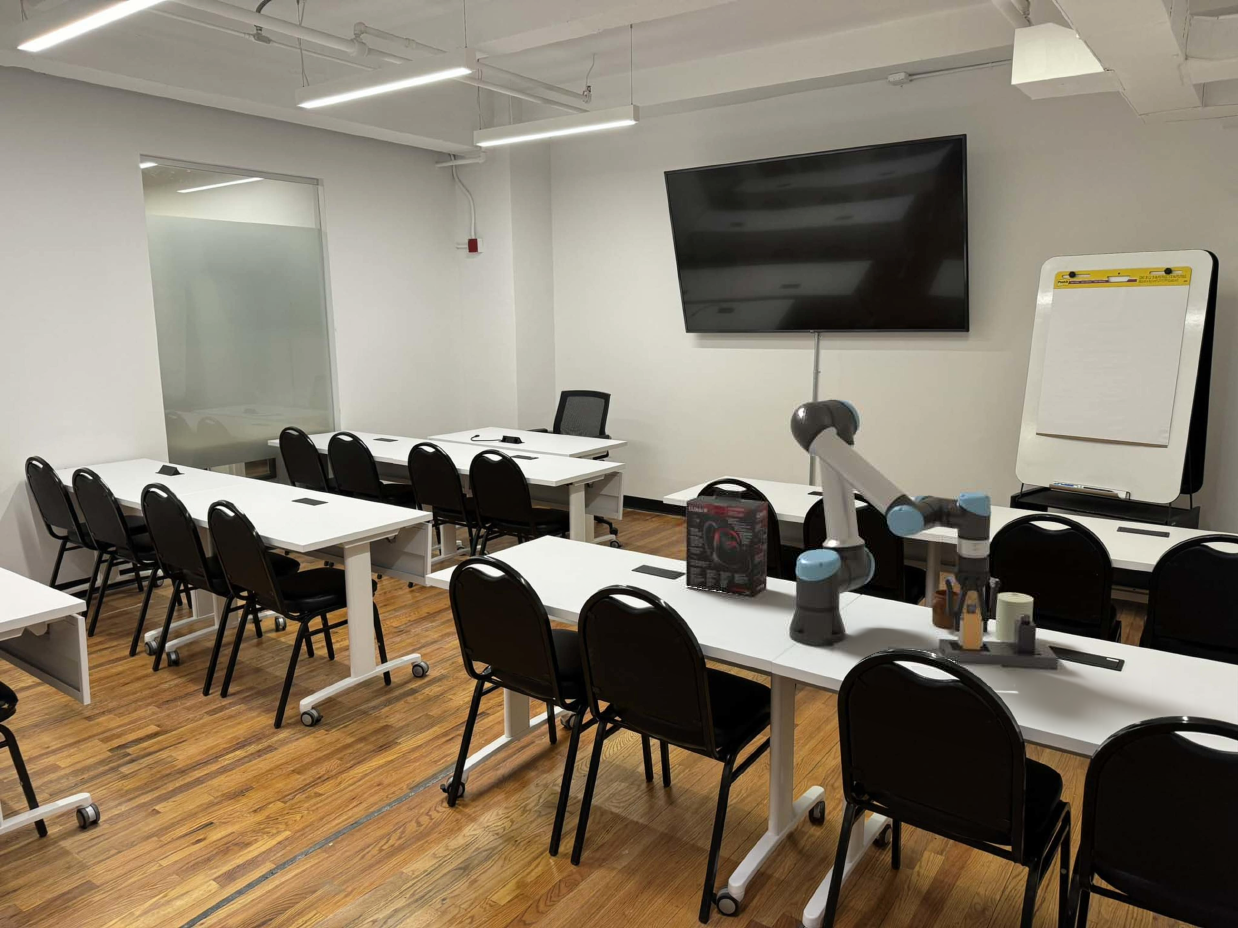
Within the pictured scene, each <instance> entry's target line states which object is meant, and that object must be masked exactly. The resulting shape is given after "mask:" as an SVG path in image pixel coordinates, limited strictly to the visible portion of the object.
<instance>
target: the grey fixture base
mask: <svg viewBox="0 0 1238 928" xmlns="http://www.w3.org/2000/svg"><path fill="white" fill-rule="evenodd" d="M1030 617H1031V615H1029V614H1021V620H1015V626H1014V642H1003V641H991V640H983V646H980V649H963V647H962V645H959V643H958V639H950V638H949V639H948V638H947V639H946V638H945V639H944V638H939V639H938V649H939V652H940V654H941V656H942V658H943V657H944V658H946V659H950V660H952V661H955V662H957V663H956V664H970V665H971V664H973V665H974V664H975V665H988V666H989V665H991V666H992V665H993V666H1001V668H1013V669H1014V668H1015V669H1016V668H1019V669H1035V670H1036V669H1037V670H1038V669H1039V670H1055V671H1057V670H1058V661H1059V660H1058V659H1059V657H1058V656H1057V655H1056V654H1055V653H1054V651H1053V650H1052V649H1051V648H1050V647H1049V645H1047V643H1039V642H1038V643H1036V637H1037V636H1036V635H1037V634H1036V633H1037V624H1035V623H1034V621H1033V619H1032V620H1030ZM944 658H943V659H944Z"/></svg>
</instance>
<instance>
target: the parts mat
mask: <svg viewBox="0 0 1238 928" xmlns="http://www.w3.org/2000/svg"><path fill="white" fill-rule="evenodd" d="M887 649H888V651H889V650H891V649H914V650H920V651H926V652H930V653H934V654H936V655H938V656H939V653H938V652H937V649H936V648H935V649H933V648H918V647H917V648H915V647H897V646H895V647H894V646H888V647H887Z"/></svg>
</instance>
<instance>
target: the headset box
mask: <svg viewBox="0 0 1238 928" xmlns="http://www.w3.org/2000/svg"><path fill="white" fill-rule="evenodd" d="M685 505H686V509H685V511H686V512H685V514H686V516H685V518H686V519H685V520H686V521H685V522H686V524H685V526H686V527H685V534H686V535H685V537H686V538H685V539H686V540H685V541H686V543H685V545H686V547H685V548H686V550H685V551H686V552H685V554H686V555H685V557H686V560H685V562H686V564H685V565H686V566H685V569H686V570H685V577H686V579H685V582H686V583H685V586H686V585H687V586H691V587H697V588H702V589H708V590H716V591H722V592H726V593H725V594H727V593H732V594H731V595H734V594H738V595H737V596H740V595H743V596H742V597H747V596H748V597H749V598H755V597H756V596H758V595H759V594H761V593H762V592H764V591H765V590H766V589H767V581H768V579H767V576H768V575H767V573H768V572H767V571H768V570H767V569H768V567H767V566H768V524H769V523H768V520H769V519H768V517H769V516H768V515H769V502H768V501H761V500H753V499H752V500H750V499H742V498H741V492H740V490H730V489H720V488H716V489H715V492H714V495H713V496H708V495H707V496H706V495H700V496H697V497H692V498H690V499H688V500H686V504H685ZM702 589H701V590H702ZM708 590H707V591H708ZM763 590H764V591H763Z"/></svg>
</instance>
